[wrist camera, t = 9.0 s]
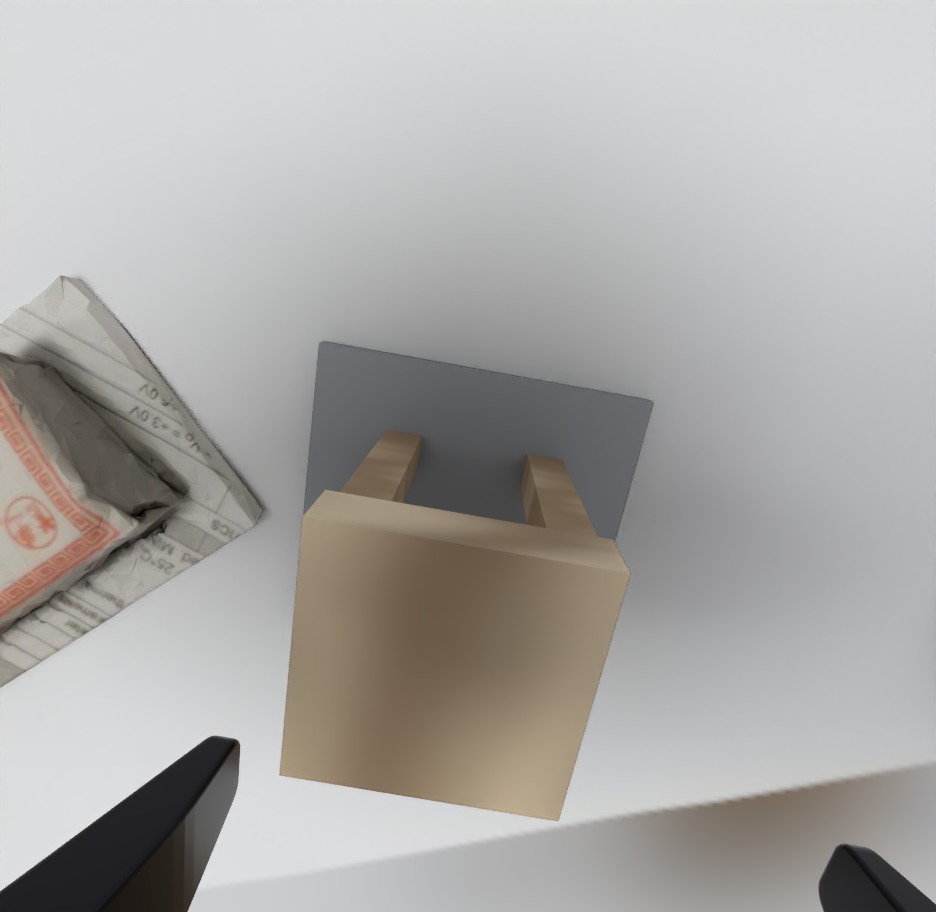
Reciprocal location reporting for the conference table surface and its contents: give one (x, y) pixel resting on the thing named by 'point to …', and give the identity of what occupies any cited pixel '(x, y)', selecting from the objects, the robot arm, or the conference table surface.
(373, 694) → the stool
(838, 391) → the conference table surface
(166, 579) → the packaged product
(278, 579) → the conference table surface
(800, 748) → the conference table surface
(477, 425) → the mat
